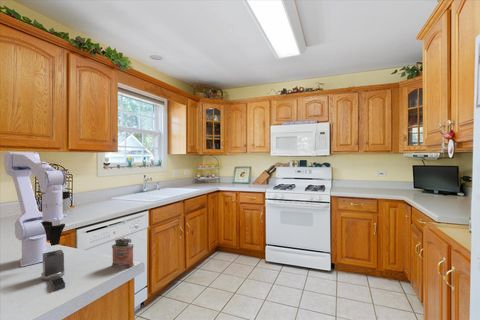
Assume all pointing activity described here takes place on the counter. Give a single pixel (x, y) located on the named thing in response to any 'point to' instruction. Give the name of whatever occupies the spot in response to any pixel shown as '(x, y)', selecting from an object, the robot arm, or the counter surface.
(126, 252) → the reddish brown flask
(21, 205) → the robot arm
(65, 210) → the glass holder
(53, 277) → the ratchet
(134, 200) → the counter surface
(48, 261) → the brushed dark grey cube
